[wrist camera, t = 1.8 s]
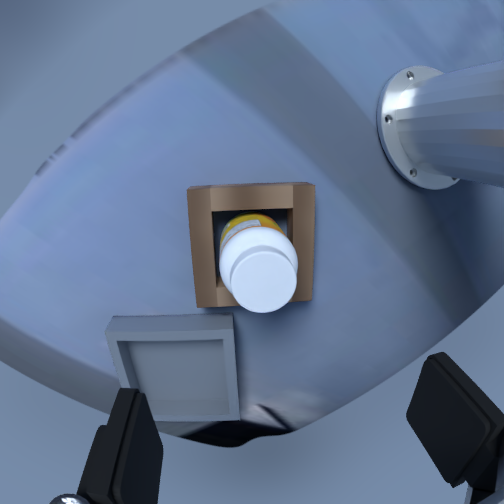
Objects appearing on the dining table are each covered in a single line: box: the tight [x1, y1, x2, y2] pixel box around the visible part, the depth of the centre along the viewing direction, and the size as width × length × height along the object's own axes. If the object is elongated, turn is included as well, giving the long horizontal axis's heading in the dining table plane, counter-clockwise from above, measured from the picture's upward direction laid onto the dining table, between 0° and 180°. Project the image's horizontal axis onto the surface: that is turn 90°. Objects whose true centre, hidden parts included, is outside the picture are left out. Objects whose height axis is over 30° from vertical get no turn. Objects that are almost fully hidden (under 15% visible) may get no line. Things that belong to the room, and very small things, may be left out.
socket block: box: [187, 182, 315, 308], centre depth 27 cm, size 10×10×2 cm
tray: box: [104, 313, 240, 421], centre depth 30 cm, size 12×12×3 cm
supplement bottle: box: [219, 211, 298, 313], centre depth 23 cm, size 5×5×10 cm
